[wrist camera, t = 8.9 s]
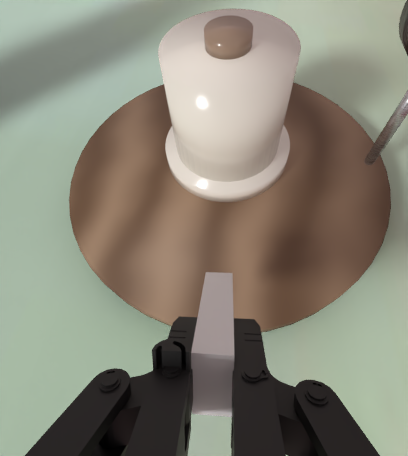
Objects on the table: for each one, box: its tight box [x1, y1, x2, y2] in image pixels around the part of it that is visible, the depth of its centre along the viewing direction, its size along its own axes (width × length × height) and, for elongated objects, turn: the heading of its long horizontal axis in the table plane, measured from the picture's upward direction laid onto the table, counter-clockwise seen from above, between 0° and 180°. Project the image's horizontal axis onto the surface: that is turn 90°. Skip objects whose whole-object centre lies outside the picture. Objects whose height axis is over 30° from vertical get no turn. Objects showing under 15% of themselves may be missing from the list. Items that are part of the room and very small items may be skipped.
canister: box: [158, 9, 301, 202], centre depth 22 cm, size 11×11×11 cm
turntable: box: [69, 83, 391, 332], centre depth 27 cm, size 28×28×2 cm
